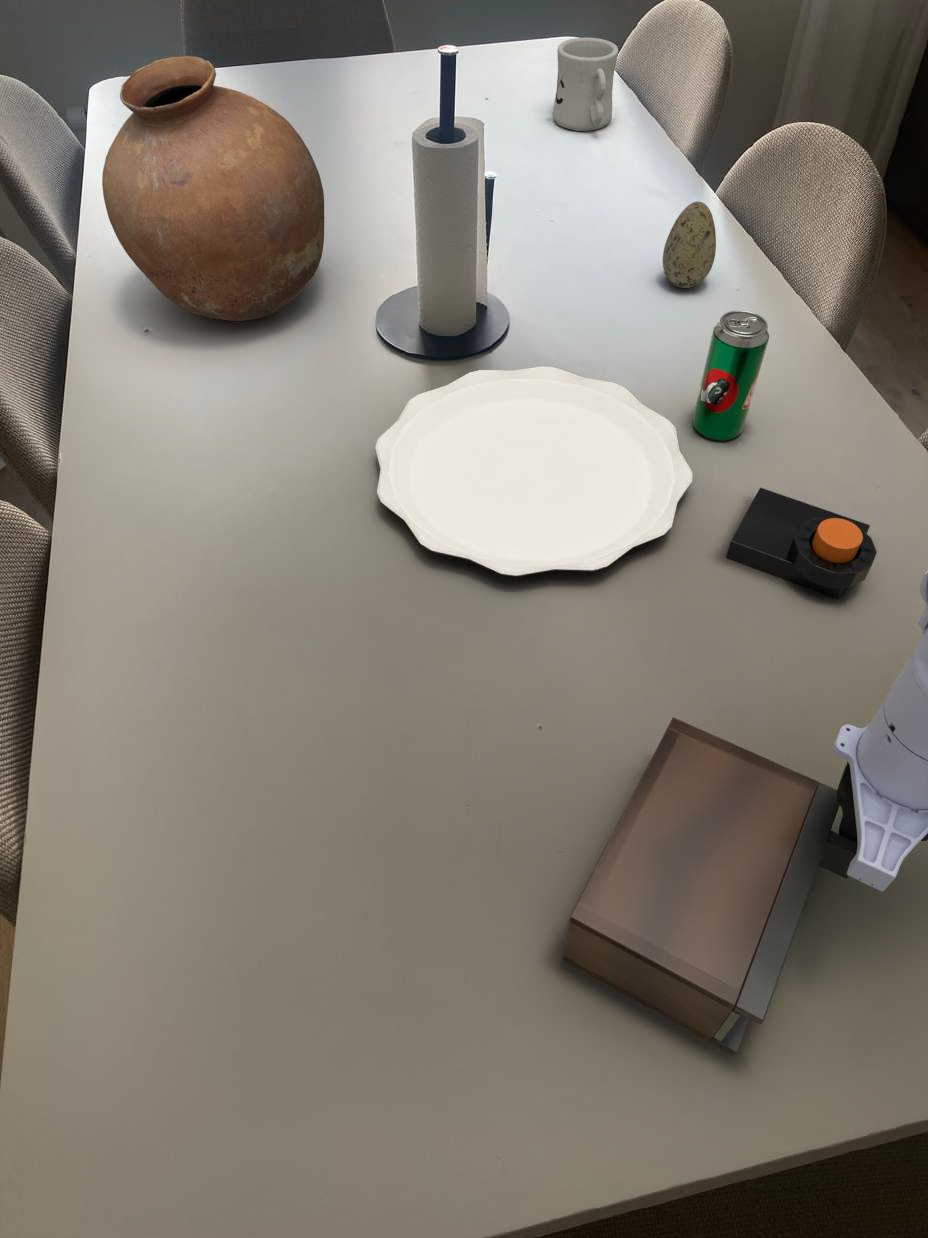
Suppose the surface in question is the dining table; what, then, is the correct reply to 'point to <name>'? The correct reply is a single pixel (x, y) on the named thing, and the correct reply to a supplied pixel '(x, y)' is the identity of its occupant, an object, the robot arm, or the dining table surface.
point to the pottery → (212, 193)
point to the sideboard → (703, 884)
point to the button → (837, 540)
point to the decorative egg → (690, 246)
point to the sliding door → (838, 854)
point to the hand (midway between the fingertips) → (856, 838)
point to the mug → (585, 83)
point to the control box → (796, 545)
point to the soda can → (730, 374)
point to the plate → (532, 471)
